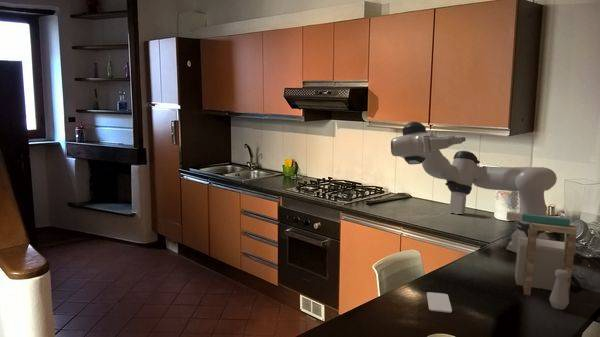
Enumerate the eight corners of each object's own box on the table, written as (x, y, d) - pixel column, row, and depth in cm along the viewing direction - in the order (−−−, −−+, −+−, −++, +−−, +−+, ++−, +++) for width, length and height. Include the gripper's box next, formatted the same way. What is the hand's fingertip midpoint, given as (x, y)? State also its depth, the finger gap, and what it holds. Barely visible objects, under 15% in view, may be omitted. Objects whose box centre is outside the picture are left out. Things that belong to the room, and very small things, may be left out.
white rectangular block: (514, 275, 193) (518, 236, 191) (559, 282, 188) (564, 242, 185) (516, 284, 184) (520, 243, 181) (564, 291, 178) (569, 249, 176)
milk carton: (453, 211, 300) (455, 181, 297) (464, 213, 296) (467, 182, 293) (449, 213, 294) (451, 182, 291) (461, 215, 290) (463, 184, 287)
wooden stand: (522, 287, 181) (530, 219, 177) (564, 293, 176) (573, 224, 173) (524, 294, 175) (531, 223, 171) (568, 301, 170) (577, 228, 166)
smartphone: (447, 294, 172) (452, 311, 157) (447, 296, 172) (452, 313, 158) (426, 291, 173) (429, 309, 159) (426, 293, 174) (429, 311, 159)
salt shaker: (551, 302, 169) (555, 266, 167) (569, 307, 165) (574, 270, 163) (546, 307, 164) (551, 270, 162) (565, 312, 161) (570, 274, 159)
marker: (506, 218, 178) (507, 211, 177) (568, 224, 171) (568, 218, 171) (506, 219, 176) (507, 213, 175) (569, 226, 169) (570, 219, 168)
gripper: (434, 148, 211) (467, 145, 205) (424, 153, 193) (461, 150, 187) (432, 134, 210) (466, 130, 204) (422, 137, 192) (459, 133, 186)
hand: (463, 140), depth 195 cm, fingers open, 8 cm apart
